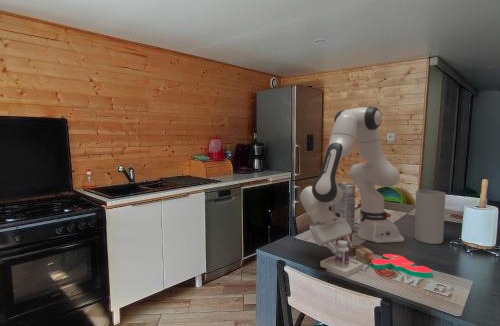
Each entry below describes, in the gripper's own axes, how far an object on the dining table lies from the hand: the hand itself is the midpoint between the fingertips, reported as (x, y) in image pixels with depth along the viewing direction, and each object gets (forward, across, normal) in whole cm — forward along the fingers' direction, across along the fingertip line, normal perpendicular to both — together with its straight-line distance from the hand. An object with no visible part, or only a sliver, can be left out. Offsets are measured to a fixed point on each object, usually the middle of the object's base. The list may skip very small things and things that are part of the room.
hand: (343, 249), depth 114 cm
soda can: (-3, +17, +14) cm, 23 cm away
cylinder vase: (+11, +61, 0) cm, 62 cm away
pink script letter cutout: (+17, +18, -4) cm, 25 cm away
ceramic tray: (+5, 0, +6) cm, 8 cm away
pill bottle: (+4, 0, +5) cm, 7 cm away
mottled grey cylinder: (-17, +46, +28) cm, 56 cm away
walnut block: (+3, +16, +9) cm, 18 cm away
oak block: (+7, +12, +4) cm, 15 cm away
